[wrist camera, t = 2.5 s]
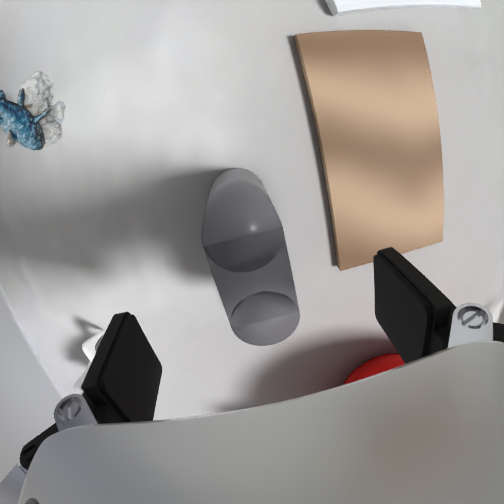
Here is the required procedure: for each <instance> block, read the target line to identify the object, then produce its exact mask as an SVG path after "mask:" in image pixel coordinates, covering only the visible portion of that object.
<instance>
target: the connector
mask: <svg viewBox="0 0 504 504" xmlns="http://www.w3.org/2000/svg"><path fill="white" fill-rule="evenodd" d="M201 237H202V244H203V247H204V250H205V253H206V256H207V259H208V262H209V265H210V268H211V271H212V274H213V277H214V280H215V283H216V286H217V288H218V291H219V294H220V297H221V300H222V303H223V305H224V308H225V311H226V314H227V317H228V319H229V322H230V325H231V328H232V330H233V332H234V333H235V335H236V336H237V337H238V338H239V339H241V340H242V341H244V342H246V343H249V344H252V345H258V346H266V345H272V344H276V343H278V342H281V341H283V340H285V339H286V338H288V337H289V336H290V335H291V334H292V333H293V332H294V331H295V329H296V327H297V326H298V323H299V319H300V313H299V307H298V302H297V297H296V291H295V286H294V281H293V276H292V271H291V266H290V261H289V256H288V251H287V246H286V242H285V237H284V232H283V227H282V224H281V221H280V219H279V216H278V214H277V212H276V210H275V208H274V206H273V204H272V202H271V200H270V198H269V196H268V194H267V192H266V190H265V188H264V186H263V184H262V182H261V180H260V179H259V178H258V177H257V176H256V175H255V174H254V173H253V172H251V171H249V170H246V169H242V168H233V169H229V170H226V171H224V172H222V173H221V174H220V175H218V176H217V178H216V179H215V180H214V182H213V184H212V186H211V189H210V194H209V198H208V203H207V208H206V212H205V217H204V222H203V227H202V235H201Z"/></svg>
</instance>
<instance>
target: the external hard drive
mask: <svg viewBox="0 0 504 504" xmlns="http://www.w3.org/2000/svg"><path fill="white" fill-rule="evenodd" d="M325 1H326V3H327V5H328V7H329V10H330V12H331V14H332V16H338V15H344V14H350V13H358V12H365V11H374V10H384V9H396V8H415V7H455V8H471V9H475V8H480V7H481V1H480V0H325Z"/></svg>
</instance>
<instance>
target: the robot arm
mask: <svg viewBox="0 0 504 504" xmlns="http://www.w3.org/2000/svg"><path fill="white" fill-rule="evenodd" d="M373 262H374V286H375V315H376V319H377V321H378V322H379V324H380V325H381V327H382V328H383V330H384V332H385V333H386V335H387V336H388V338H389V339H390V341H391V342H392V344H393V345H394V347H395V349H396V350H397V352H398V353H399V355H400V357H401V358H402V360H403V361H404V363H405V364H404V365H401V366H399V367H396V368H393V369H390V370H388V371H385V372H382V373H379V374H376V375H373V376H370V377H367V378H364V379H361V380H358V381H355V382H351V383H348V384H345V385H342V386H338V387H335V388H331V389H328V390H324V391H320V392H317V393H313V394H309V395H305V396H301V397H297V398H293V399H289V400H285V401H280V402H276V403H271V404H266V405H261V406H256V407H251V408H246V409H240V410H235V411H229V412H222V413H216V414H209V415H202V416H194V417H186V418H177V419H167V420H155V421H153V417H154V411H155V406H156V400H157V395H158V390H159V385H160V379H161V374H162V366H161V363H160V361H159V360H158V358H157V356H156V354H155V353H154V351H153V349H152V347H151V345H150V344H149V342H148V340H147V338H146V336H145V334H144V333H143V331H142V329H141V327H140V325H139V323H138V321H137V319H136V317H135V316H134V315H131V314H130V313H129V312H124V313H119V314H115V315H114V316H113V318H112V320H111V322H110V324H109V326H108V328H107V330H106V332H105V334H104V336H103V339H102V341H101V343H100V345H99V347H98V349H97V351H96V354H95V356H94V358H93V360H92V363H91V365H90V367H89V369H88V372H87V374H86V376H85V379H84V381H83V383H82V386H81V389H82V390H83V391H84V392H83V394H82V395H80V394H72V395H69V396H67V397H65V398H63V399H62V400H61V401H60V402H59V403H58V404H57V406H56V408H55V411H54V418H55V421H56V423H55V424H53V425H52V426H51V427H49V428H48V429H47V430H45V431H44V432H42V433H41V434H40V435H38V436H37V437H36V438H34V439H33V440H31V441H30V442H28V443H27V444H26V445H25V446H24V447H23V449H22V451H21V454H20V463H21V465H20V466H19V465H18V464H16V466H15V467H14V468H13V469H12V470H11V471H10V472H9V474H8V475H7V476H6V477H5V478H4V480H3V481H2V482H1V483H0V504H504V324H499V323H494V322H493V318H492V314H491V313H490V311H489V310H488V309H487V308H486V307H484V306H482V305H480V304H475V303H466V304H462V305H460V306H458V307H456V306H455V305H454V304H453V303H452V302H451V301H450V300H449V299H448V298H447V297H446V296H445V295H444V294H443V293H442V292H441V291H440V290H439V289H438V288H437V287H436V286H435V285H434V284H433V283H431V282H430V281H429V280H428V279H427V278H426V277H425V276H424V275H423V274H422V273H421V272H420V271H419V270H418V269H416V268H415V267H414V266H413V265H412V264H411V263H410V262H409V261H408V260H407V259H405V258H404V257H403V256H402V255H401V254H400V253H399V252H398V251H396V250H395V249H394V248H393V247H388V248H385V249H381V250H378V251H377V255H374V257H373Z"/></svg>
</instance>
